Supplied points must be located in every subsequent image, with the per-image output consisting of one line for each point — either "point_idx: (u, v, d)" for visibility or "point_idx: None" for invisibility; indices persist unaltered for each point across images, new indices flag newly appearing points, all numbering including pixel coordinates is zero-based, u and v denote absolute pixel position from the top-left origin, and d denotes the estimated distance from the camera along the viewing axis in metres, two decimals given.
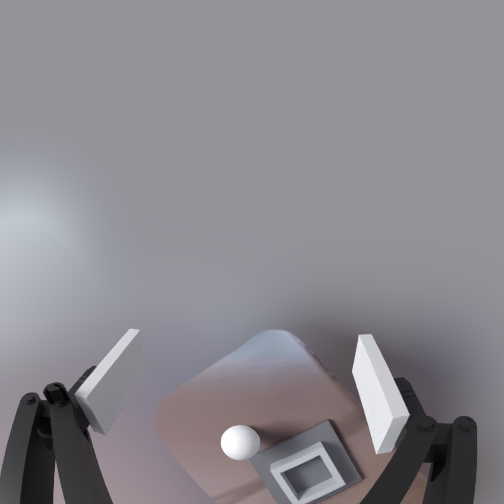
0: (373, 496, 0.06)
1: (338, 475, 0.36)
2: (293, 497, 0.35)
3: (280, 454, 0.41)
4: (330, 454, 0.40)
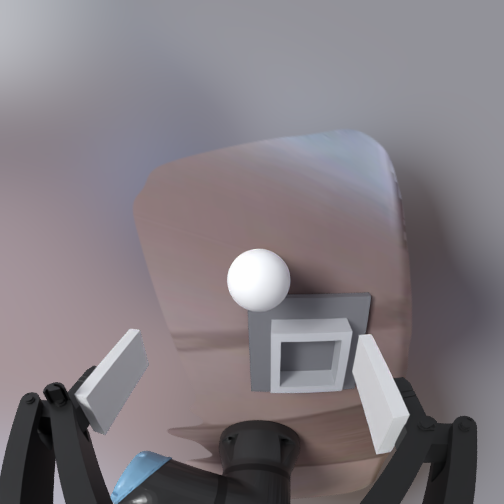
0: (373, 496, 0.06)
1: (342, 376, 0.34)
2: (276, 380, 0.35)
3: (290, 312, 0.36)
4: None
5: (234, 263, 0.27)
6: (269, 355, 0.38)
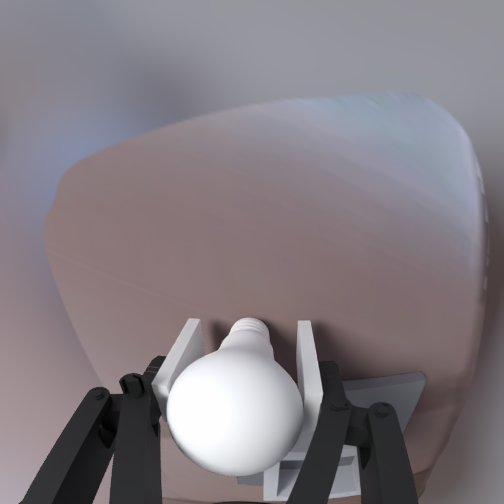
0: (304, 479, 0.07)
1: None
2: (272, 492, 0.18)
3: None
4: None
5: (176, 390, 0.10)
6: None
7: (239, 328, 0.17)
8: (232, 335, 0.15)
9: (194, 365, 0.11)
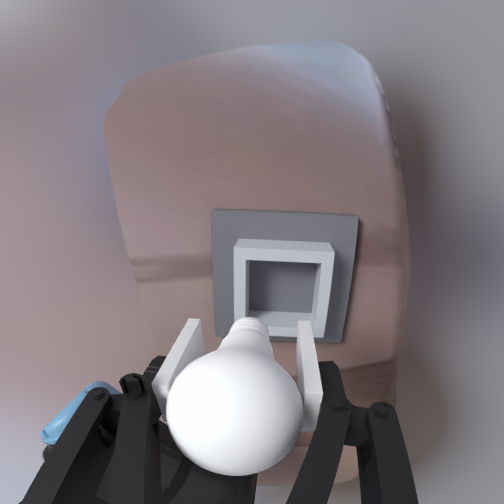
0: (304, 479, 0.07)
1: (324, 316, 0.29)
2: (241, 315, 0.30)
3: (261, 229, 0.31)
4: None
5: (175, 390, 0.10)
6: None
7: (239, 327, 0.17)
8: (232, 334, 0.15)
9: (193, 364, 0.11)
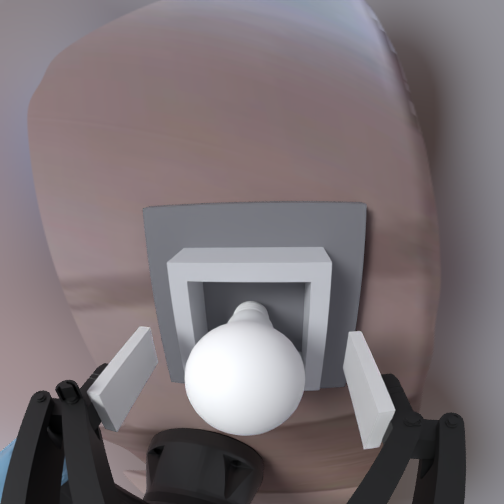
0: (362, 492, 0.06)
1: (319, 362, 0.18)
2: None
3: (215, 232, 0.20)
4: None
5: (195, 355, 0.12)
6: None
7: (242, 309, 0.19)
8: (237, 314, 0.18)
9: (210, 333, 0.13)
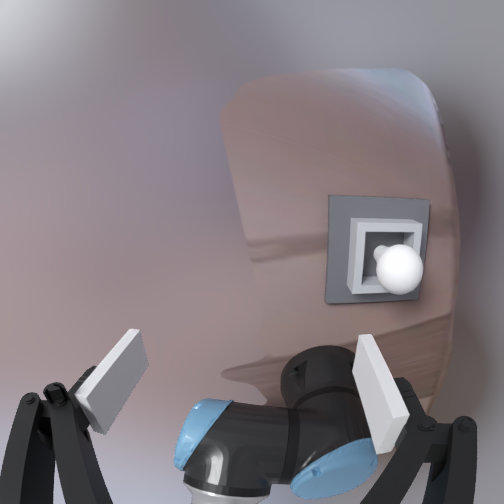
0: (373, 496, 0.06)
1: None
2: (359, 277, 0.37)
3: (367, 210, 0.38)
4: None
5: (388, 255, 0.30)
6: (346, 258, 0.40)
7: (382, 247, 0.37)
8: (383, 248, 0.36)
9: (390, 248, 0.31)
